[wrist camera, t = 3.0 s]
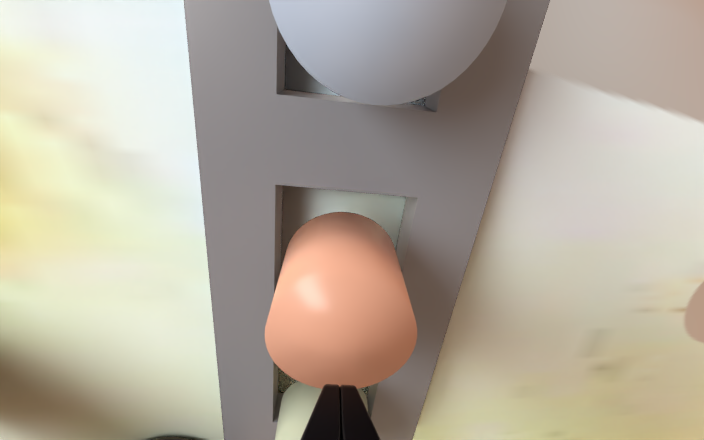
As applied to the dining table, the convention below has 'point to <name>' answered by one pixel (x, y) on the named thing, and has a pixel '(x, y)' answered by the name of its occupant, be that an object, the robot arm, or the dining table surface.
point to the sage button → (299, 410)
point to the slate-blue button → (386, 43)
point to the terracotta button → (340, 305)
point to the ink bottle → (170, 438)
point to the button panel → (338, 174)
